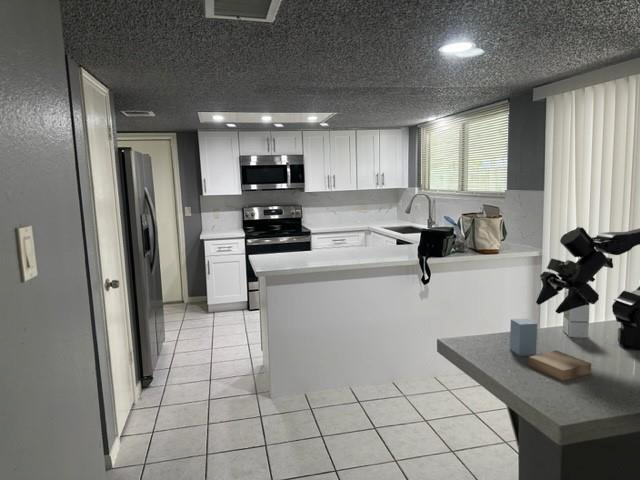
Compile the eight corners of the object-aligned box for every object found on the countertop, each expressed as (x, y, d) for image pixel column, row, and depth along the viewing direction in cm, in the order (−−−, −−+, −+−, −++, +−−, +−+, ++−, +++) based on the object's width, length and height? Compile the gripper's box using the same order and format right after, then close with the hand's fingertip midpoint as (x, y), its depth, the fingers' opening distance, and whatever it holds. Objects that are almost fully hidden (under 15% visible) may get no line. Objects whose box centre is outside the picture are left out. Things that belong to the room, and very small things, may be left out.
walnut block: (555, 360, 119) (556, 350, 119) (590, 374, 110) (591, 363, 109) (528, 367, 115) (528, 356, 115) (562, 382, 106) (563, 370, 106)
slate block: (526, 348, 127) (527, 318, 126) (536, 354, 122) (537, 323, 121) (509, 349, 127) (510, 319, 126) (519, 355, 122) (520, 324, 121)
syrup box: (589, 338, 134) (591, 292, 133) (568, 337, 136) (570, 291, 134) (581, 332, 140) (584, 287, 138) (561, 331, 141) (563, 287, 139)
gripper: (547, 244, 131) (510, 282, 132) (590, 253, 113) (548, 297, 113) (570, 269, 133) (534, 306, 133) (617, 282, 114) (575, 325, 115)
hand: (546, 307), depth 124 cm, fingers open, 9 cm apart
